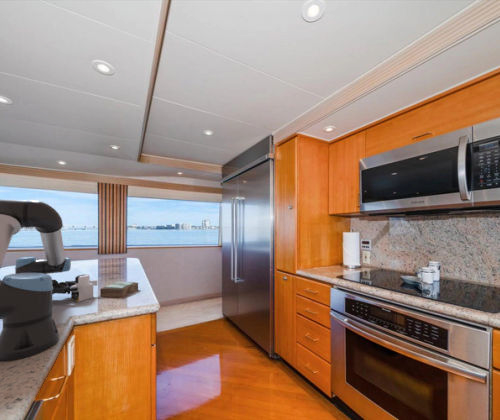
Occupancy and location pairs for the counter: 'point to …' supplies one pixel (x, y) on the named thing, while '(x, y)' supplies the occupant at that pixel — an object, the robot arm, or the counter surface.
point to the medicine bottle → (80, 296)
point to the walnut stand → (119, 289)
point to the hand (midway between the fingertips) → (91, 285)
